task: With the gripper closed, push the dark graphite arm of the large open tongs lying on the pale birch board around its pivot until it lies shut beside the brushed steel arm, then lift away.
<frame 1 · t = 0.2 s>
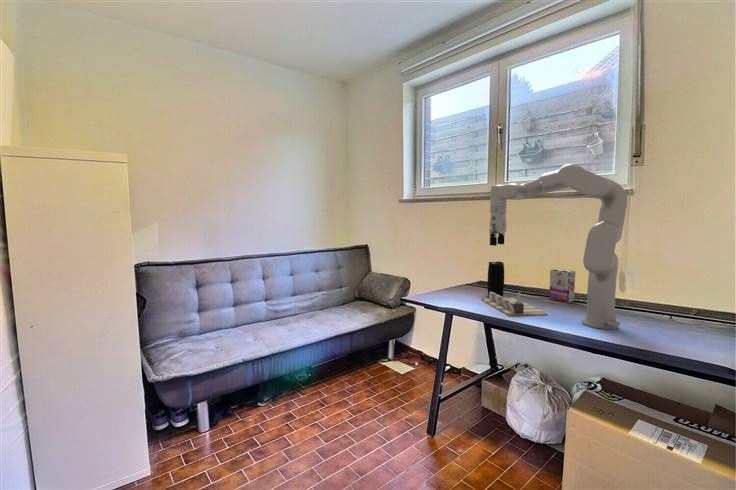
hand: (497, 244, 171), 31 cm above the table, tool pointing down, fingers open, 9 cm apart
tongs board: (511, 307, 169), on the table
tongs arm: (518, 301, 168), point 3 cm above the table, hinge at -30.0°
candy bar box: (561, 300, 183), on the table
portable speaker: (495, 297, 191), on the table
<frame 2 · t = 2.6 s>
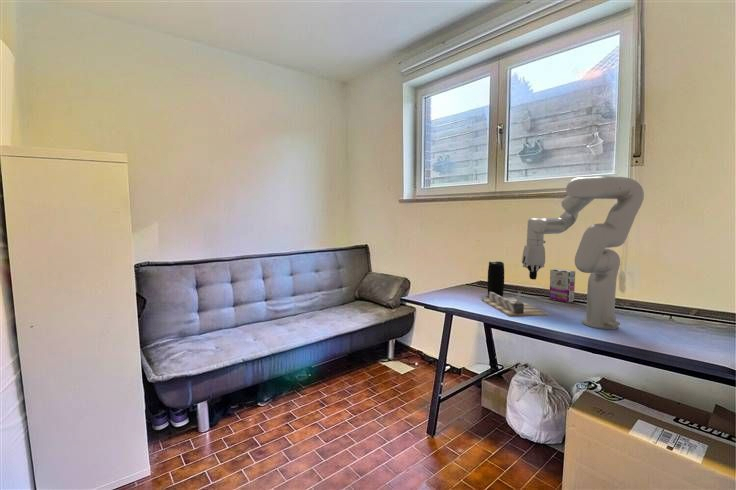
hand: (532, 278, 173), 13 cm above the table, tool pointing down, fingers closed
nothing on the table moved.
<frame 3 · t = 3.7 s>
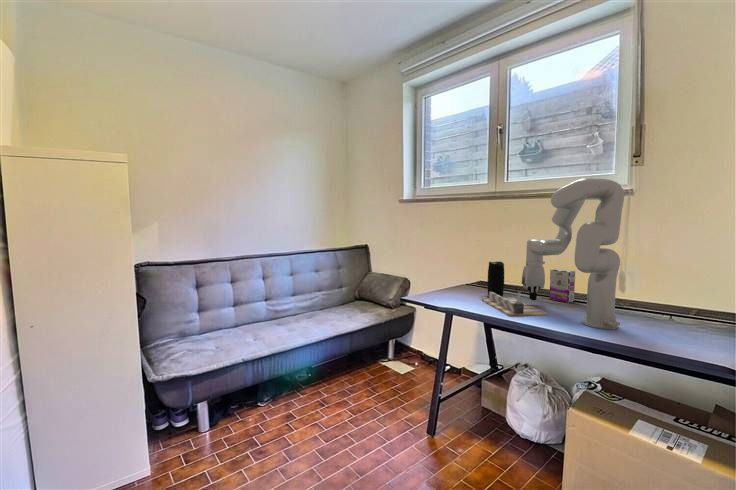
hand: (532, 299, 174), 3 cm above the table, tool pointing down, fingers closed
nothing on the table moved.
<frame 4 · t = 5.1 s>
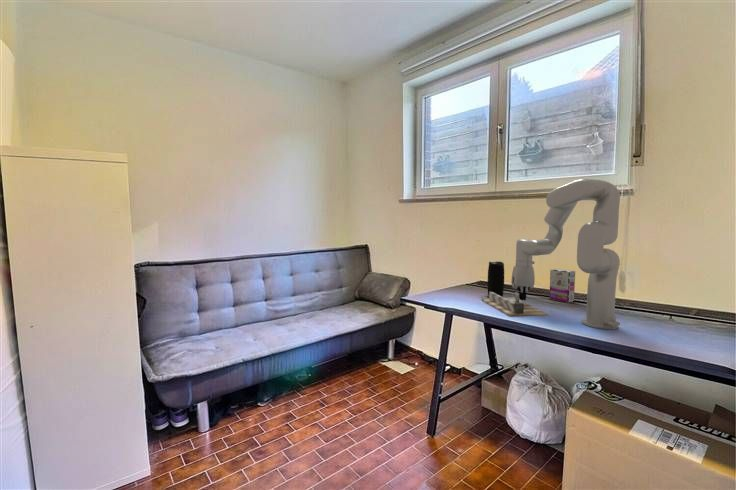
hand: (522, 299, 173), 3 cm above the table, tool pointing down, fingers closed
tongs arm: (517, 301, 169), point 3 cm above the table, hinge at -26.8°, touching gripper
everything else where it was.
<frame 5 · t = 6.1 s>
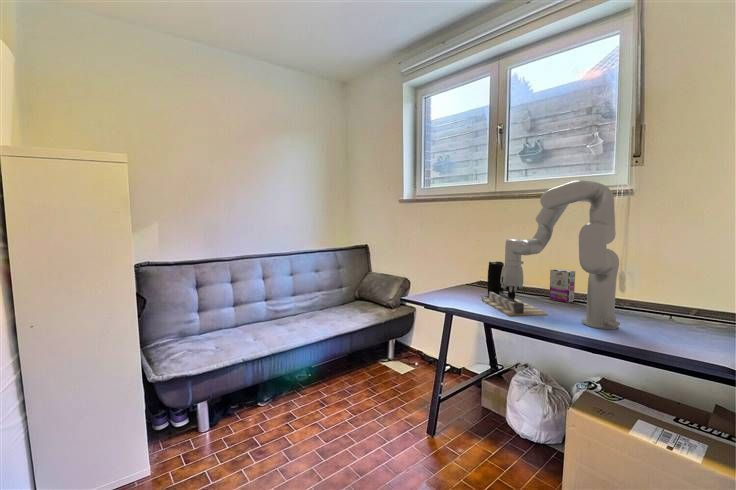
hand: (511, 299, 173), 3 cm above the table, tool pointing down, fingers closed
tongs arm: (508, 300, 170), point 3 cm above the table, hinge at -8.1°, touching gripper
everything else where it was.
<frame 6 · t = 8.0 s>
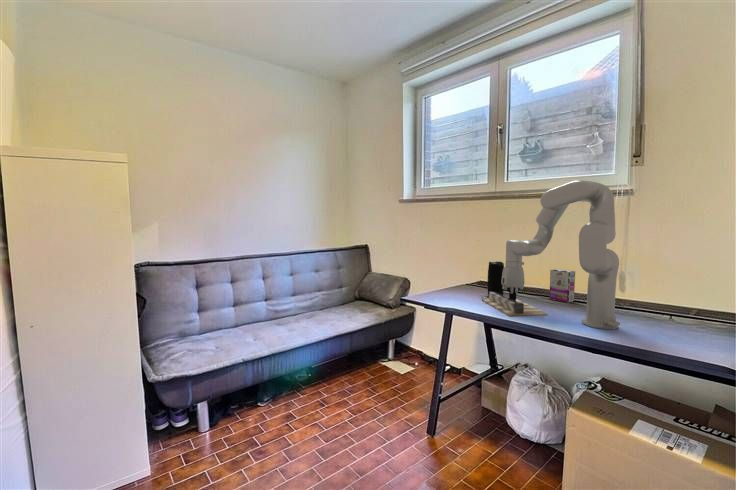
hand: (512, 300, 173), 2 cm above the table, tool pointing down, fingers closed
tongs arm: (505, 300, 169), point 3 cm above the table, hinge at 0.8°
everything else where it was.
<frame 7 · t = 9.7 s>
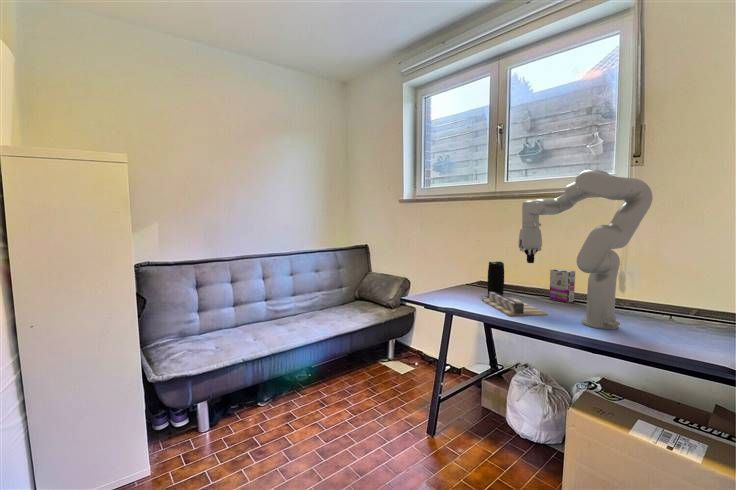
hand: (530, 262, 170), 22 cm above the table, tool pointing down, fingers closed
nothing on the table moved.
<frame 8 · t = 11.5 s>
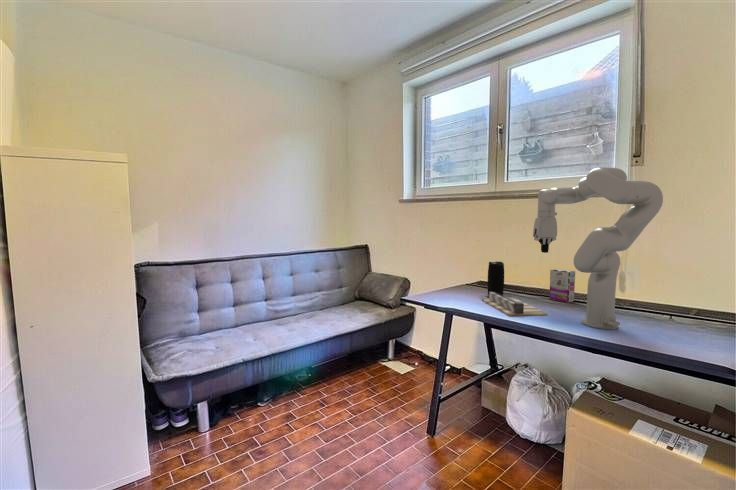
hand: (544, 252, 168), 27 cm above the table, tool pointing down, fingers closed
nothing on the table moved.
at the end: tongs arm at +1° (first picture: -30°); portable speaker moved 0.2 cm from its start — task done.
